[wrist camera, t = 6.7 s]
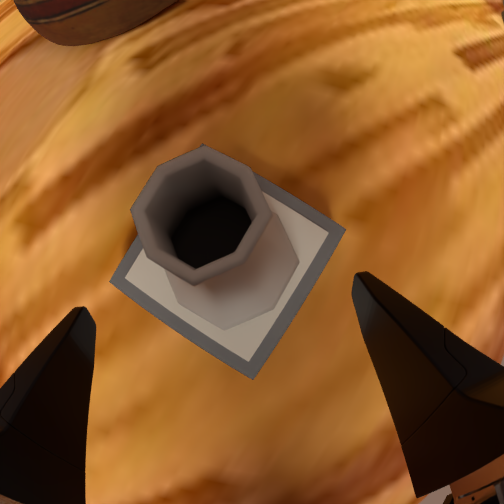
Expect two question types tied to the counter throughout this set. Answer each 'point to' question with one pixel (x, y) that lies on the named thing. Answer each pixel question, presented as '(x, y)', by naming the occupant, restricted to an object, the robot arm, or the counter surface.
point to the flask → (214, 237)
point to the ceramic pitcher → (87, 18)
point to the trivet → (261, 327)
